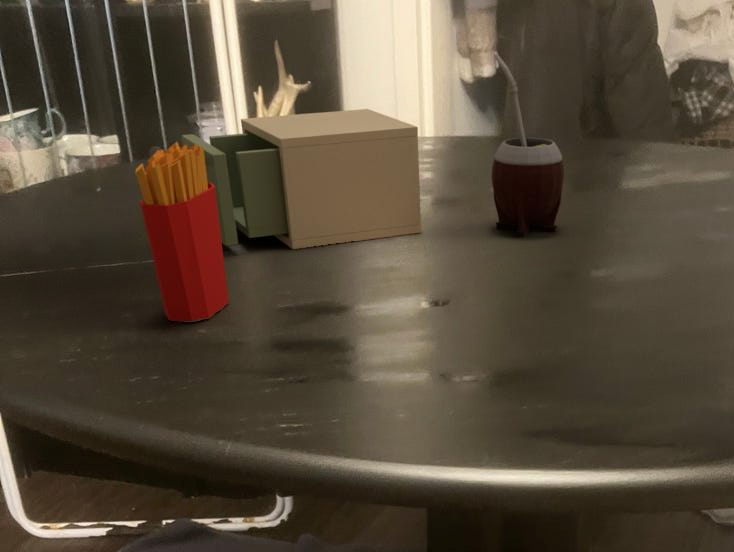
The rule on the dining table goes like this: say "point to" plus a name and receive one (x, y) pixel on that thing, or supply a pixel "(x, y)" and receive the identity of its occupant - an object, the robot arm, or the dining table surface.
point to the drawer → (244, 184)
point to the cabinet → (344, 175)
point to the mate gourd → (526, 177)
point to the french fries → (183, 232)
